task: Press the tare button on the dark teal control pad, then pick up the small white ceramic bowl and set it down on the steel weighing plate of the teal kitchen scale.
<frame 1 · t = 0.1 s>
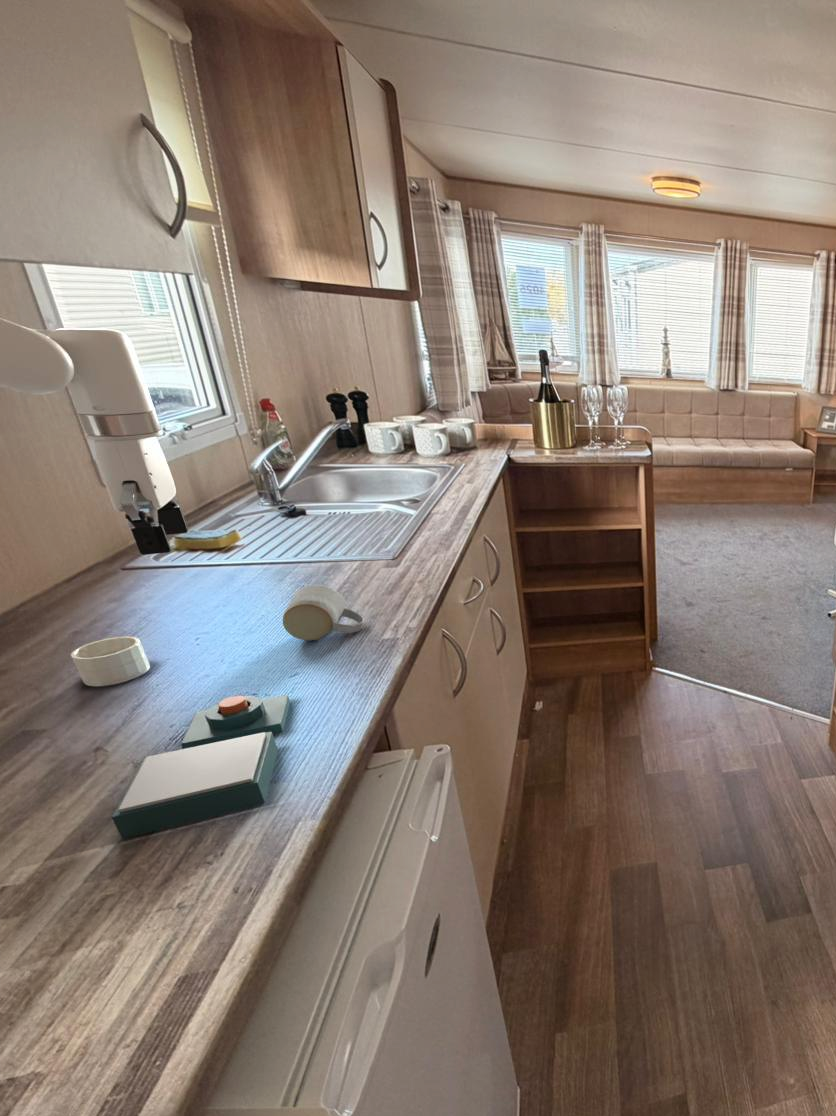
hand: (166, 542, 95), 19 cm above the counter, tool pointing down, fingers open, 9 cm apart
scale: (207, 790, 74), on the counter
ceramic mug: (329, 632, 112), on the counter
tare button: (233, 705, 85), point 3 cm above the counter, slide at 0.1 cm
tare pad: (240, 726, 86), on the counter
bowl: (117, 674, 96), on the counter
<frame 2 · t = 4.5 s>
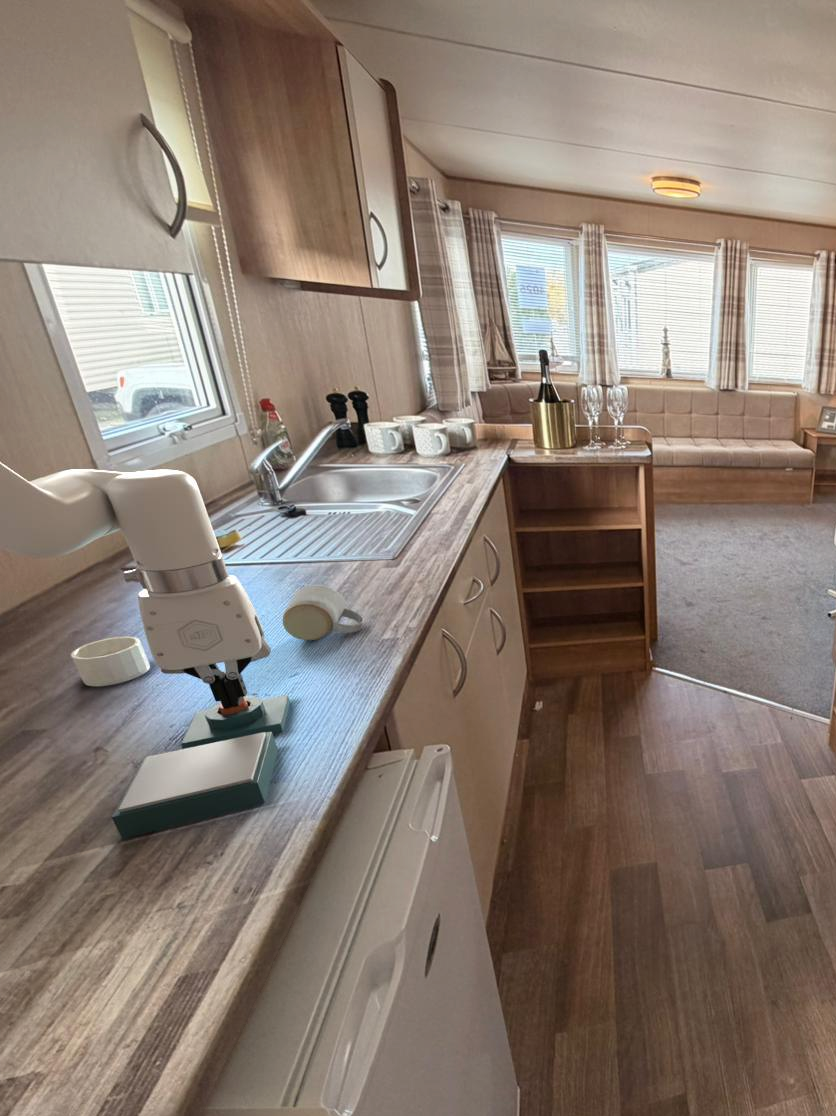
hand: (234, 702, 84), 4 cm above the counter, tool pointing down, fingers closed
tare button: (233, 707, 85), point 3 cm above the counter, slide at -0.1 cm, touching gripper
everything else where it was.
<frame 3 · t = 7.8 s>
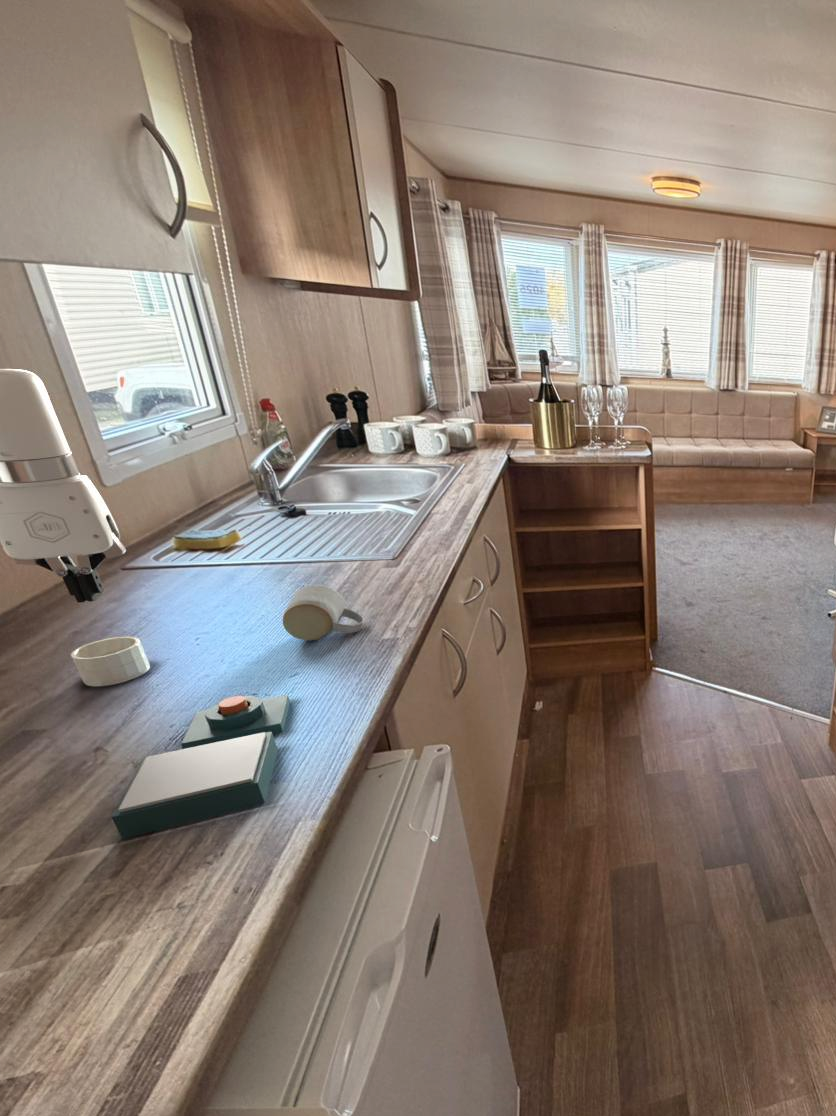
hand: (90, 598, 90), 13 cm above the counter, tool pointing down, fingers closed
tare button: (233, 705, 85), point 3 cm above the counter, slide at 0.1 cm
everything else where it was.
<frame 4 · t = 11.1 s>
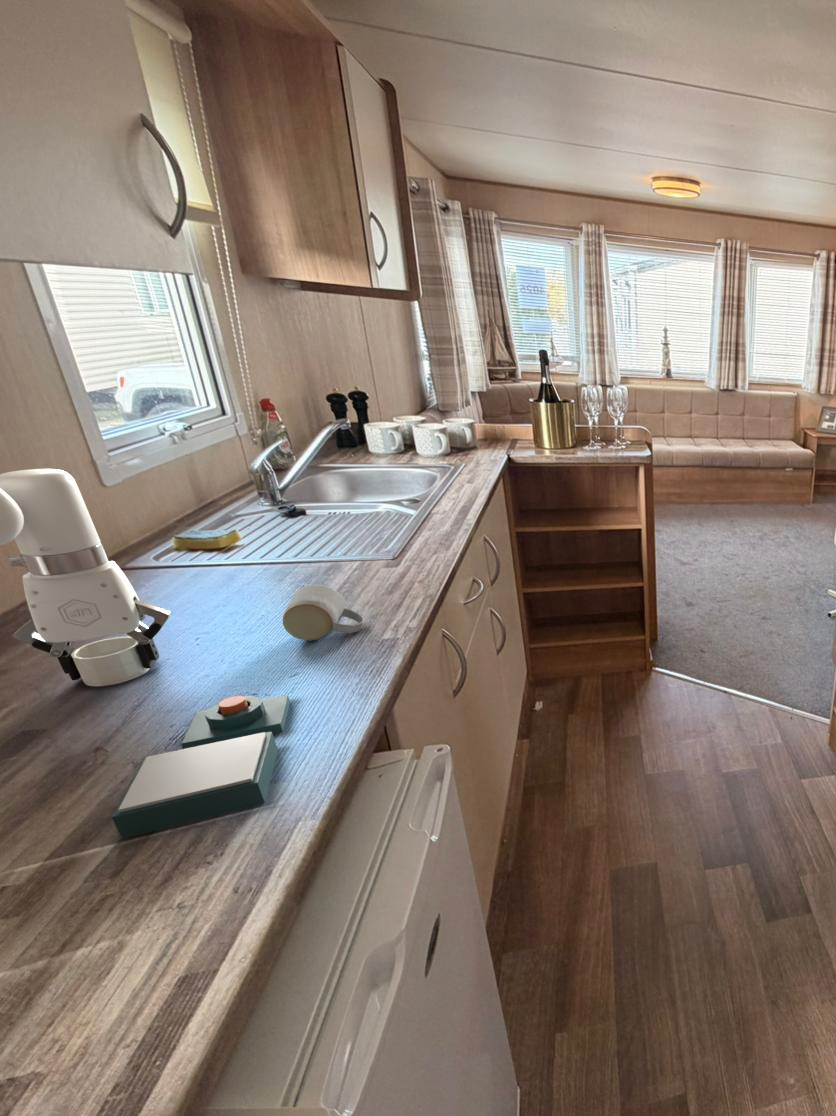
hand: (115, 669, 96), 1 cm above the counter, tool pointing down, fingers closed on bowl, 7 cm apart
bowl: (117, 674, 96), on the counter, touching gripper
everything else where it was.
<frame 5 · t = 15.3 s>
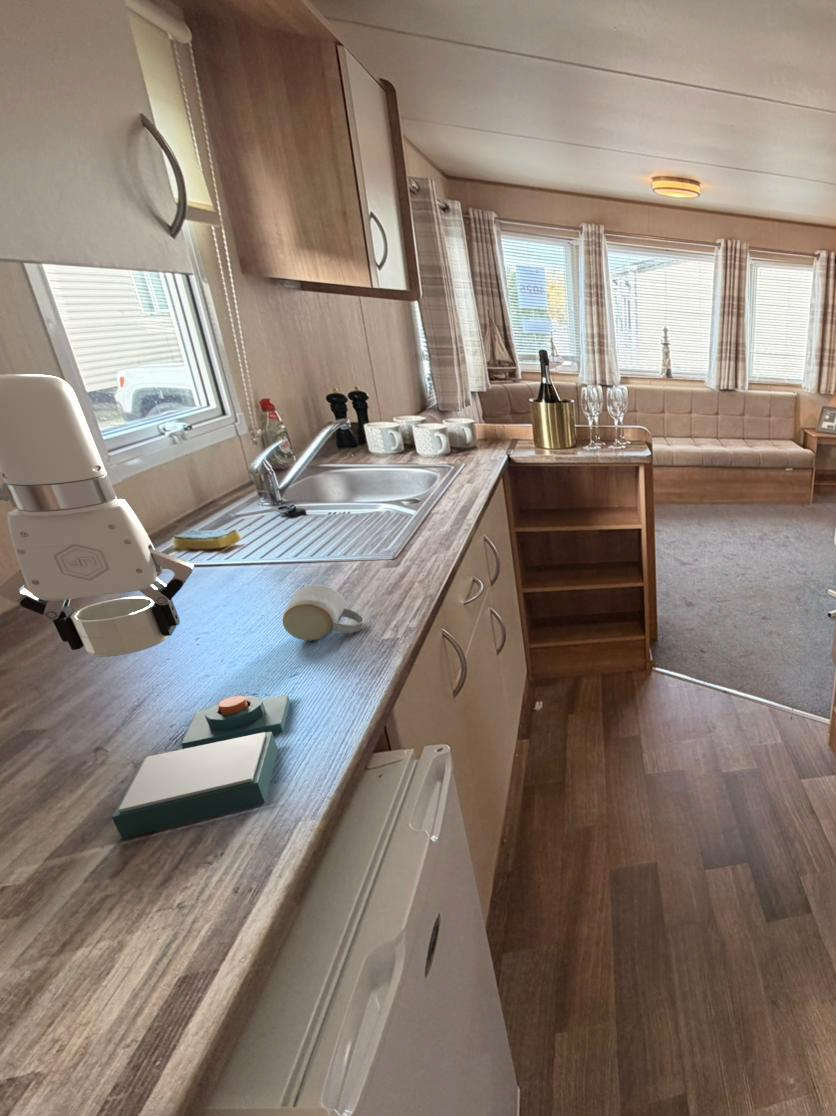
hand: (126, 637, 77), 15 cm above the counter, tool pointing down, fingers closed on bowl, 7 cm apart
bowl: (129, 643, 77), point 14 cm above the counter, touching gripper
everything else where it was.
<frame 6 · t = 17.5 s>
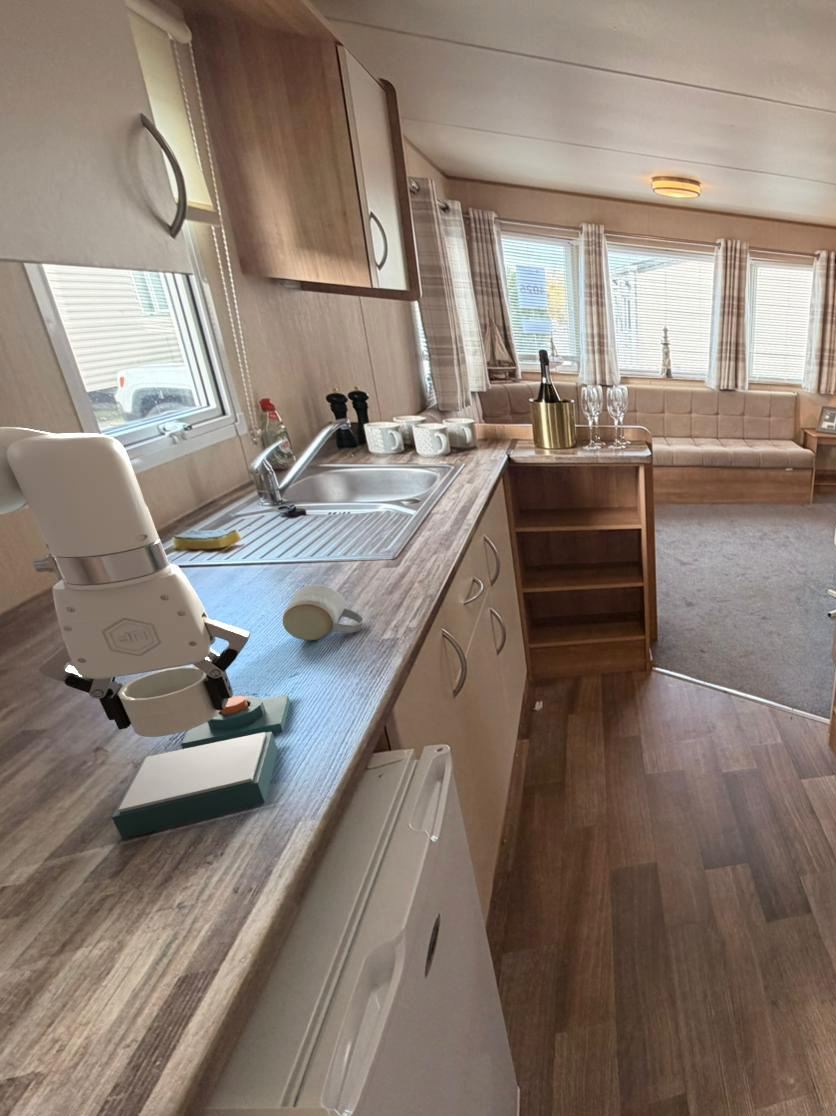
hand: (176, 712, 70), 11 cm above the counter, tool pointing down, fingers closed on bowl, 7 cm apart
bowl: (179, 718, 70), point 10 cm above the counter, touching gripper
everything else where it was.
when the fingers open (4 cm above the counter, at t = 19.6 s): bowl stays where it is, resting on scale.
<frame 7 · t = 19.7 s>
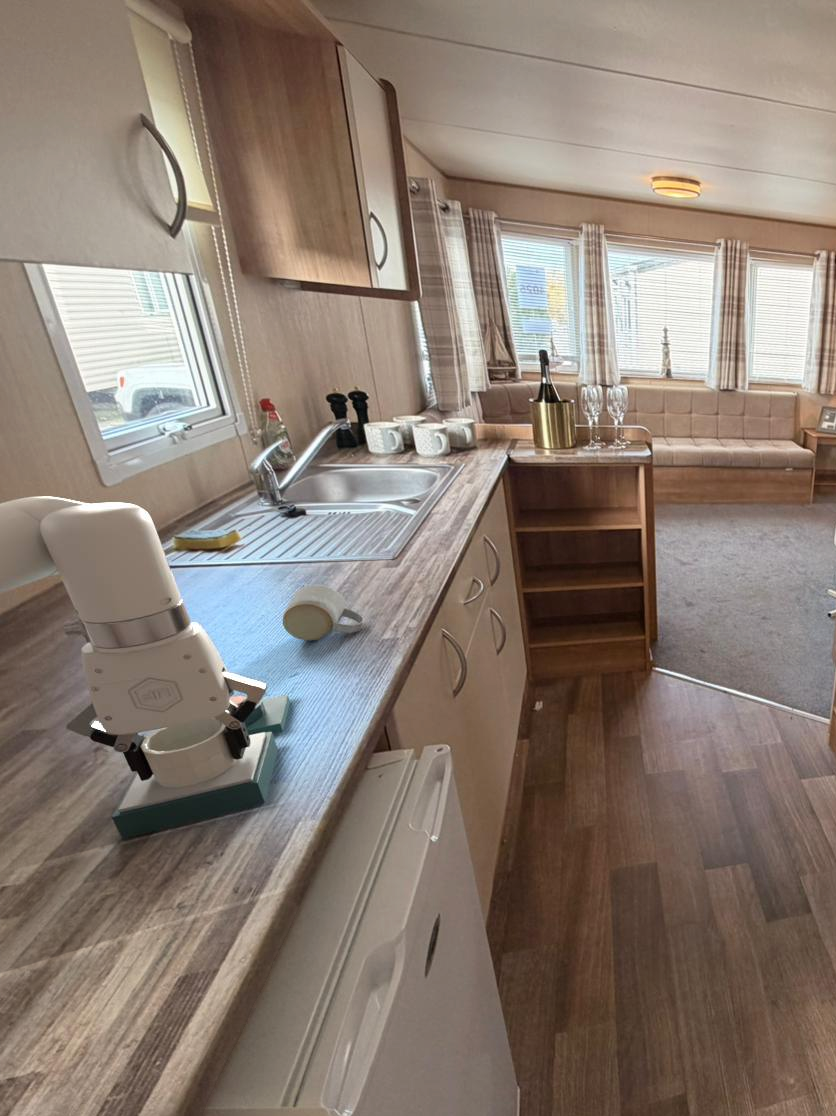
hand: (196, 761, 73), 4 cm above the counter, tool pointing down, fingers open, 7 cm apart
bowl: (198, 767, 73), point 3 cm above the counter, touching scale
everything else where it was.
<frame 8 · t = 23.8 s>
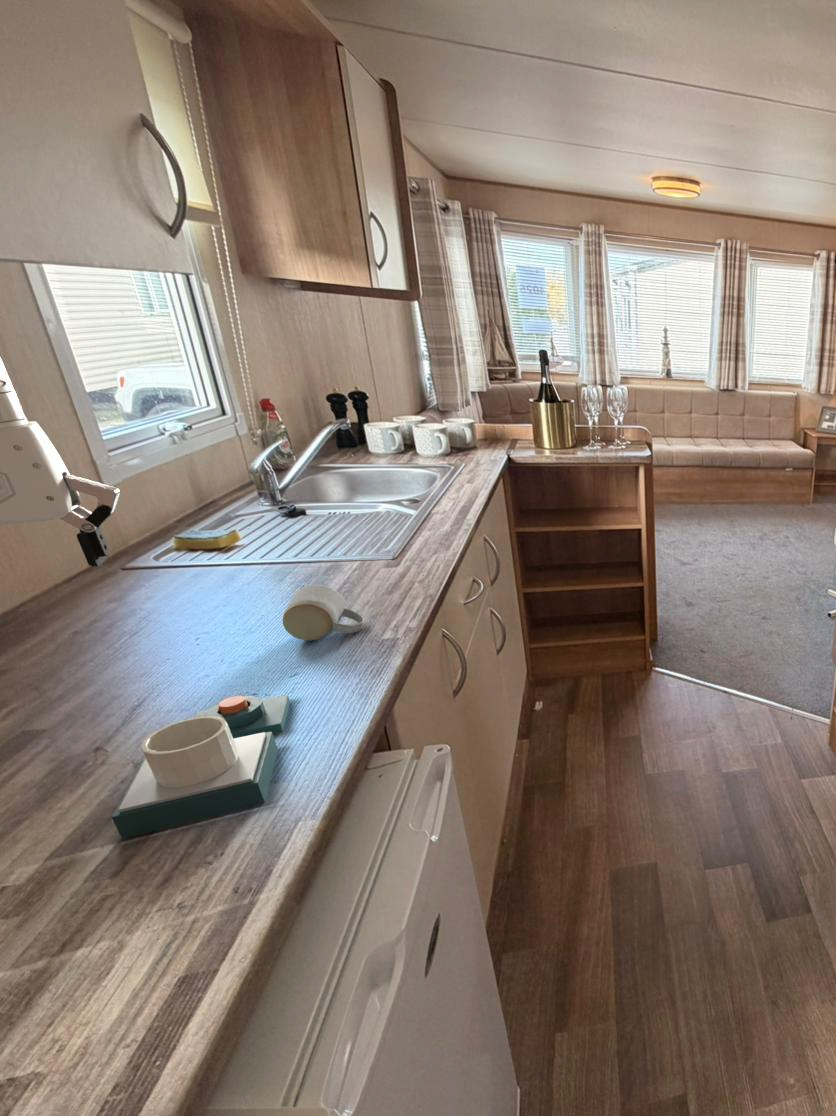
hand: (39, 568, 71), 24 cm above the counter, tool pointing down, fingers open, 9 cm apart
nothing on the counter moved.
at the end: tare button pushed in 0.9 cm at the most during the clip, back to where it started at the end; bowl inside the target area on the scale (0.0 cm from its centre), point 3.4 cm above the scale's base; bowl tilted 0° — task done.
